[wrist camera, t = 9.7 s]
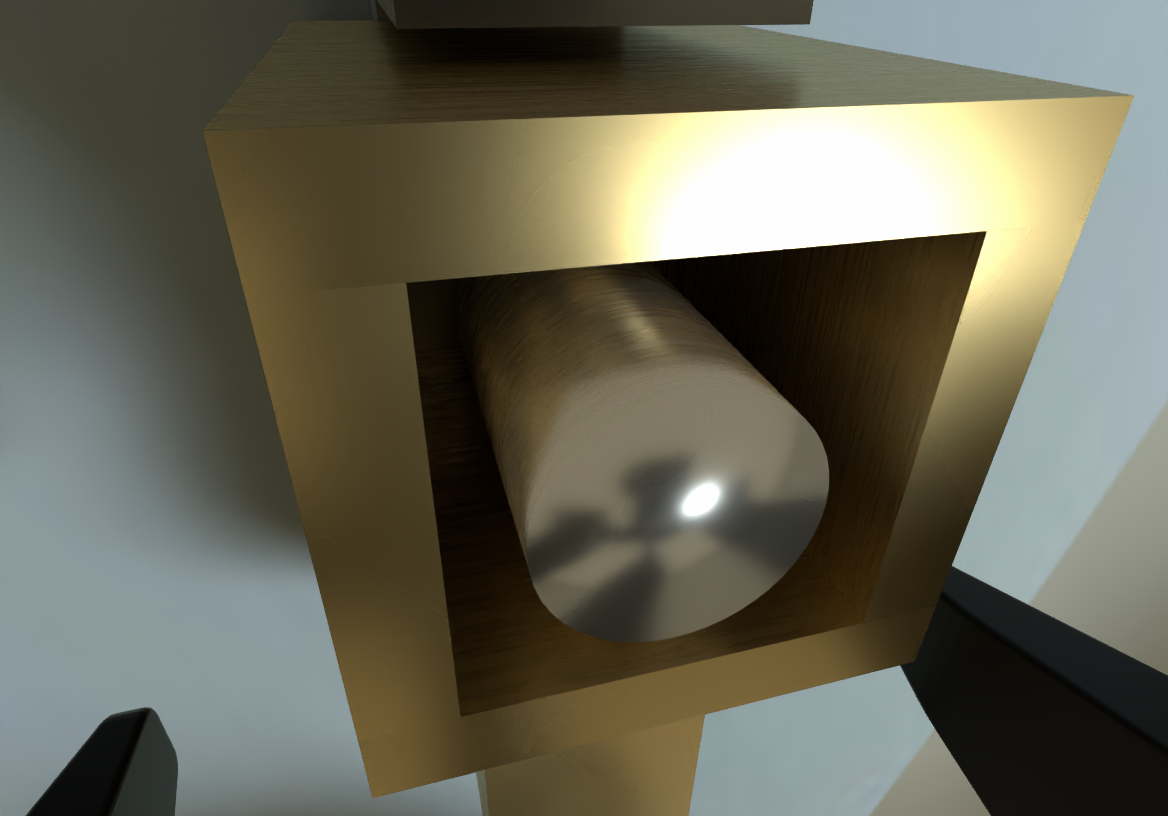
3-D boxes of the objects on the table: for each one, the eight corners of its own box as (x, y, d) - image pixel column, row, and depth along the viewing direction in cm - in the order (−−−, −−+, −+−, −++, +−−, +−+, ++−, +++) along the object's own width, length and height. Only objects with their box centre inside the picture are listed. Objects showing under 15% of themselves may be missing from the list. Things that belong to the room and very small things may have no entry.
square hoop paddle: (603, 562, 15) (786, 990, 9) (405, 600, 14) (452, 1111, 8) (625, 4, 9) (1133, 95, 3) (304, 4, 9) (199, 130, 2)
